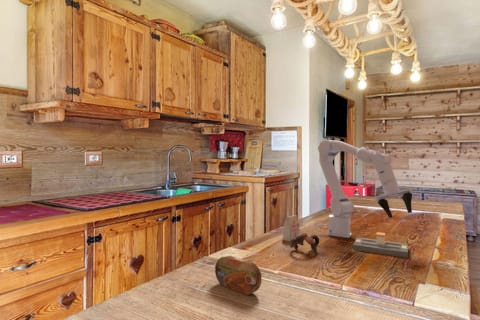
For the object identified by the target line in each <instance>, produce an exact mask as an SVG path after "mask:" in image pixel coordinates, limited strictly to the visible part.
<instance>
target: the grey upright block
mask: <svg viewBox="0 0 480 320" xmlns="http://www.w3.org/2000/svg"><path fill="white" fill-rule="evenodd" d="M300 227H301V224H300V221H299V219H298V215H296V214H295V215H290V216H287V217H285V222H284V223H283V226H282V241H285V240H286V242H289V243H290V241H291V240H292V239H296V237H298V236H300V232H301V231H300Z"/></svg>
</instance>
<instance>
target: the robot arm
mask: <svg viewBox="0 0 480 320" xmlns="http://www.w3.org/2000/svg"><path fill="white" fill-rule="evenodd" d="M317 150H318V154H319V157H318V159H319V160H318V161H319V164H320V167H321V170H322V174H323V176H324V178H325V181H326V183H327V186H328V189H329V192H330V196H331V197H330V199H329V202H330V211H331V213H332V214H329V216H328V219H327V220H328V222H327V225H328V226H327V236H332V237H338V238H346V239H350V238H351V237H352V234H353V233H352V232H351V215H352V214H353V211H354V210H355V207H354V206H355V205H354V203H353V202H352V201H351V200H350V198H349V196H348V195H347V194H346V193H344V189H343V187H342V184H341V182H340V179H339V176H338V173H337V171H336V168H335V166H334V164H333V161H334V159H335V158H336V156H338V154H339V153H340V152H344V153H348V154H351V155H354V156H356V158H357V160H359V161H361V162H365V163H366V164H369V165H371V166H372V167H373V168H375V170H376V173H377V175H378V179H379V181H380V183H381V187H382V190H383V193H384V194H380V195H377V196H374V197H373V198H374V202H375V203H376V202H377V203H378V204H377V205H379V206H380V207H381V208H382V210H383V211H384V212H385V213H386V215H387V217H388V218H389V219H390V218H393V213H392V212H391V209H390V206H389V201H388V199H392V198H396V197H401V199H402V201H403V203H404V205H405V207H406V211H407V213H408V214H411V213H413V210H412V200H413V193H414V191H413V188H412V187H409V188H404V189H400V187H399V184H398V181H397V179H396V176H395V173H394V170H393V168H392V165H391V163H392V157H391V156H390V155H389V154H387V153H385V152H384V153H380V151H379V150H373V149H370V146H362V147H360V148H359V147H356V146H355V145H351V144H349V143H347V142H344V141H341V140H338V139H334V140H331V139H329V140H328V139H323V140H320V143H319V144H318V147H317Z"/></svg>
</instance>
